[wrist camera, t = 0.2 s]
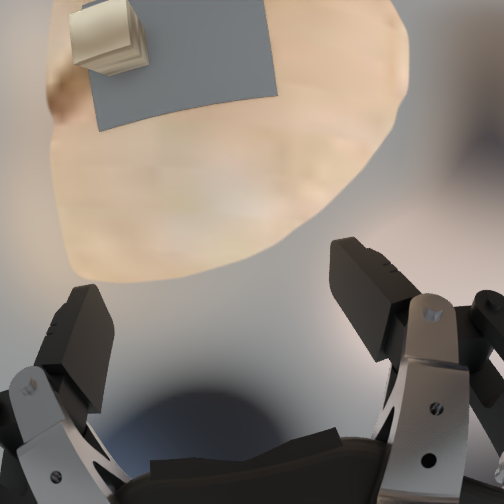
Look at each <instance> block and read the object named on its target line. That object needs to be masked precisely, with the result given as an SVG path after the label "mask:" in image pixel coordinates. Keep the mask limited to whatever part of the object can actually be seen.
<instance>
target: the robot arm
mask: <svg viewBox="0 0 504 504" xmlns="http://www.w3.org/2000/svg"><path fill="white" fill-rule="evenodd" d="M329 283H330V289H331V292H332V295H333V296H334V298H335V300H336V301H337V303H338V304H339V306H340V307H341V308H342V310H343V312H344V313H345V315H346V316H347V318H348V319H349V321H350V322H351V324H352V326H353V327H354V329H355V330H356V332H357V333H358V335H359V336H360V338H361V340H362V341H363V343H364V344H365V346H366V348H367V349H368V351H369V352H370V354H371V356H372V357H373V359H374V360H375V362H379V361H382V360H384V359H387V358H389V360H390V362H391V366H390V369H389V374H388V379H387V383H386V388H385V393H384V397H383V402H382V406H381V410H380V414H379V417H378V420H377V423H376V426H375V428H374V431H373V434H372V437H371V439H369V438H361V437H339V434H338V432H337V430H336V428H335V427H334V428H331V429H328V430H325V431H322V432H318V433H315V434H311V435H308V436H304V437H301V438H297V439H293V440H290V441H288V442H286V443H284V444H282V445H280V446H278V447H276V448H274V449H272V450H270V451H268V452H265V453H263V454H261V455H259V456H257V457H254V458H252V459H249V460H246V461H225V460H214V459H204V458H195V457H193V458H182V459H169V460H150V472H148V473H145V474H143V475H140V476H138V477H136V478H134V479H131V478H130V477H129V476H128V475H127V474H126V473H125V472H124V471H122V469H121V468H120V467H119V466H118V465H117V464H116V463H115V461H114V459H113V458H112V457H111V455H110V454H109V453H108V451H107V450H106V449H105V447H104V445H103V444H102V442H101V441H100V439H99V438H98V436H97V435H96V434H95V432H94V430H93V429H92V427H91V426H90V424H89V423H88V422H87V421H86V420H87V414H92V413H101V408H102V401H103V394H104V387H105V382H106V376H107V370H108V365H109V359H110V354H111V349H112V345H113V340H114V325H113V321H112V318H111V317H110V314H109V312H108V310H107V308H106V306H105V303H104V301H103V299H102V296H101V294H100V292H99V290H98V288H97V286H96V285H94V284H89V285H84V286H79V287H74V288H73V289H72V291H71V294H70V296H69V298H68V300H67V302H66V303H65V304H63V305H62V307H61V308H60V309H59V310H58V311H57V312H56V313H55V315H54V317H53V320H52V322H51V324H50V326H51V327H49V328H48V331H47V333H46V334H47V336H45V338H44V340H43V343H42V345H41V347H40V350H39V352H38V355H37V357H36V360H35V363H34V365H33V366H30V367H26V368H24V369H23V370H21V371H20V372H18V373H17V374H16V375H15V377H14V378H13V379H12V381H11V383H10V386H9V390H6V391H2V392H0V446H1V447H2V448H3V449H4V452H3V458H2V465H1V472H0V504H504V379H503V378H502V376H501V375H500V373H499V372H498V371H497V369H496V368H495V366H494V365H493V364H492V363H491V361H490V360H489V357H490V355H491V353H492V351H493V350H494V349H495V351H496V352H497V353H498V354H499V356H500V357H501V358H502V360H503V361H504V296H503V295H501V294H499V293H497V292H495V291H491V290H482V291H480V292H478V293H477V294H476V296H475V298H474V301H473V304H472V305H471V306H458V307H453V305H452V304H451V303H450V302H449V301H448V300H446V299H445V298H443V297H441V296H439V295H435V294H429V293H425V294H422V293H421V292H420V291H419V290H418V289H417V288H416V287H415V286H414V285H413V284H412V283H411V282H410V281H409V280H408V279H407V278H406V277H405V276H404V275H403V274H402V273H401V272H400V271H398V270H397V268H396V267H395V266H394V265H393V264H391V262H390V261H389V260H388V259H386V257H384V256H383V255H382V254H381V253H379V252H376V251H375V250H372V249H370V248H367V249H366V248H365V247H364V246H363V245H362V244H361V243H360V242H359V241H358V240H357V239H356V238H355V237H348V238H343V239H338V240H333V241H332V242H331V246H330V270H329ZM469 404H470V406H471V407H472V409H473V411H474V412H475V414H476V416H477V418H478V419H479V421H480V423H481V424H482V426H483V428H484V430H485V431H486V433H487V435H488V437H489V438H490V440H491V442H492V444H493V446H494V448H495V449H496V451H497V453H498V455H499V457H500V462H499V468H498V469H497V471H496V473H495V479H496V481H497V482H499V483H502V488H500V487H496V486H493V485H490V484H487V483H483V482H481V481H478V480H474V479H472V478H469V477H466V476H463V473H464V467H465V458H466V449H467V440H468V424H469Z"/></svg>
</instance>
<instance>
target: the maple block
mask: <svg viewBox="0 0 504 504" xmlns="http://www.w3.org/2000/svg"><path fill="white" fill-rule="evenodd" d="M69 20H70V35H71V46H72V56H73V64H75V65H78V66H81V67H84V68H87V69H90V70H93V71H96V72H98V73H101V74H104V75H107V76H112V75H116V74H119V73H122V72H126V71H129V70H133V69H136V68H140V67H144V66H148V65H149V58H148V51H147V44H146V36H145V29H144V27H143V25H142V24H141V22H140V20H139V18H138V17H137V15H136V13H135V11H134V10H133V8H132V6H131V4H130V3H129V1H128V0H108V1H105V2H102V3H99V4H96V5H94V6H91V7H88V8H85V9H83V10H80V11H78V12H75V13H73V14H70V15H69Z"/></svg>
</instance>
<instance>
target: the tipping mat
mask: <svg viewBox="0 0 504 504" xmlns="http://www.w3.org/2000/svg"><path fill="white" fill-rule="evenodd" d="M105 1H108V0H96V1H93V2H90V3H88V4H85V5H82V7H83V9H85V8H88V7H91V6H94V5H96V4H99V3H102V2H105ZM128 1H129V3H130V4H131V6H132V8H133V10H134V11H135V13H136V15H137V17H138V18H139V20H140V22H141V24H142V25H143V27H144V29H145V36H146V44H147V51H148V58H149V65H148V66H144V67H140V68H136V69H133V70H129V71H126V72H122V73H119V74H116V75H112V76H107V75H104V74H101V73H98V72H96V71H93V70H90V69H88V70H89V77H90V84H91V90H92V96H93V102H94V107H95V113H96V118H97V123H98V128H99V132H101V131H104V130H107V129H110V128H113V127H117V126H120V125H124V124H127V123H131V122H134V121H138V120H142V119H146V118H150V117H154V116H158V115H162V114H166V113H171V112H175V111H180V110H185V109H189V108H195V107H200V106H205V105H211V104H217V103H223V102H229V101H236V100H244V99H251V98H260V97H269V96H278V95H277V87H276V80H275V73H274V65H273V59H272V52H271V45H270V39H269V32H268V26H267V20H266V14H265V8H264V2H263V0H128Z"/></svg>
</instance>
